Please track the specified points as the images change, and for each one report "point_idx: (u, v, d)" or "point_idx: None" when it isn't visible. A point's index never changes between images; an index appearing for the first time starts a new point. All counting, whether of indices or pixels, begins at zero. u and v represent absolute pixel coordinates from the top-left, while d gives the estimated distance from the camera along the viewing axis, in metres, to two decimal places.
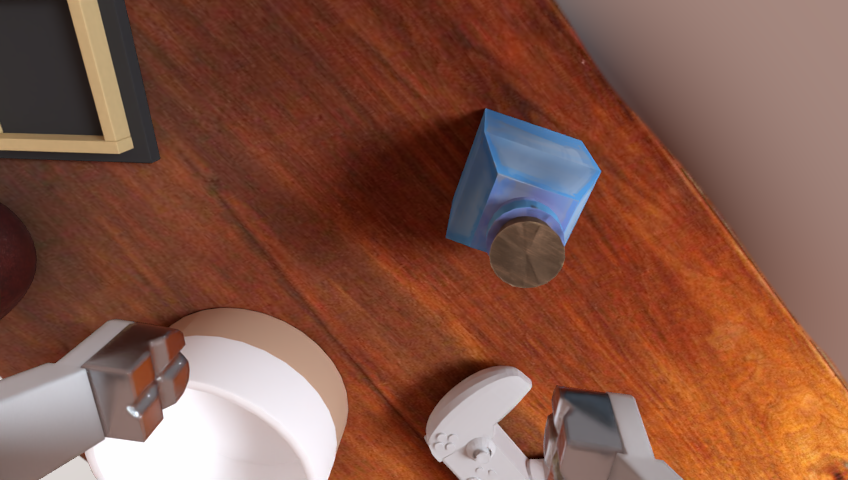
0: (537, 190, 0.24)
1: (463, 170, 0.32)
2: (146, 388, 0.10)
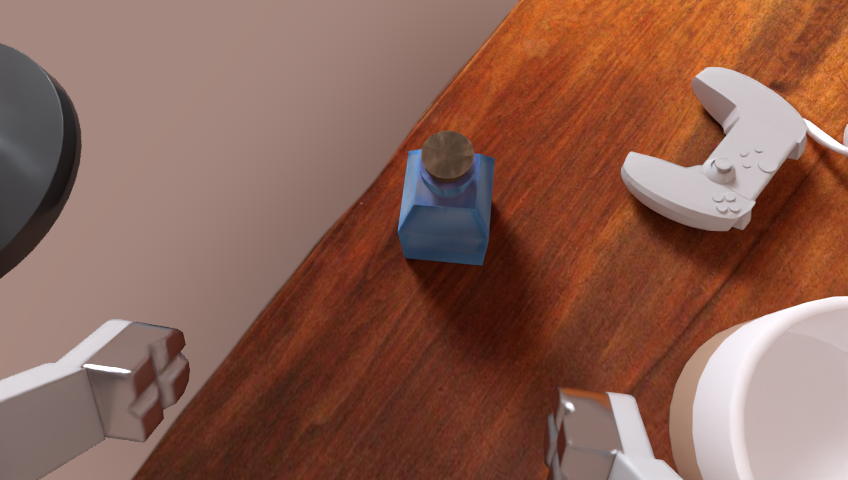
0: (419, 176, 0.33)
1: (455, 261, 0.40)
2: (146, 388, 0.10)
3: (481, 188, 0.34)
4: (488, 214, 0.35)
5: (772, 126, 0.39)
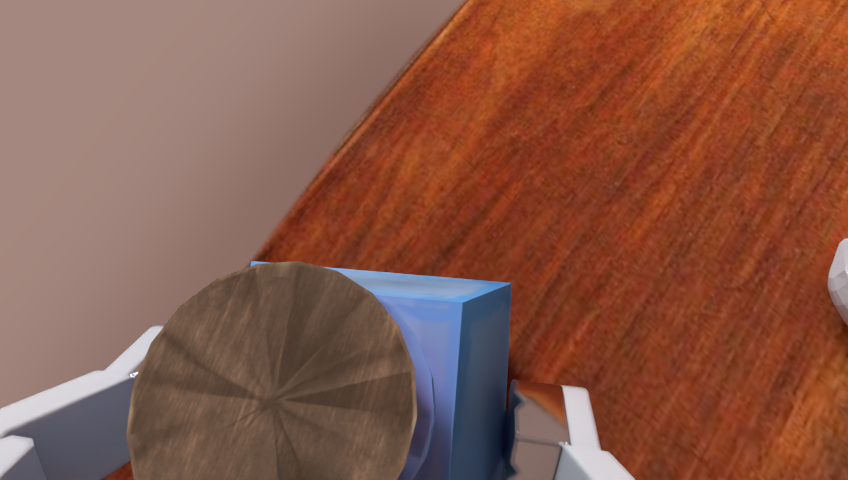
0: None
1: None
2: None
3: (467, 433, 0.09)
4: None
5: None
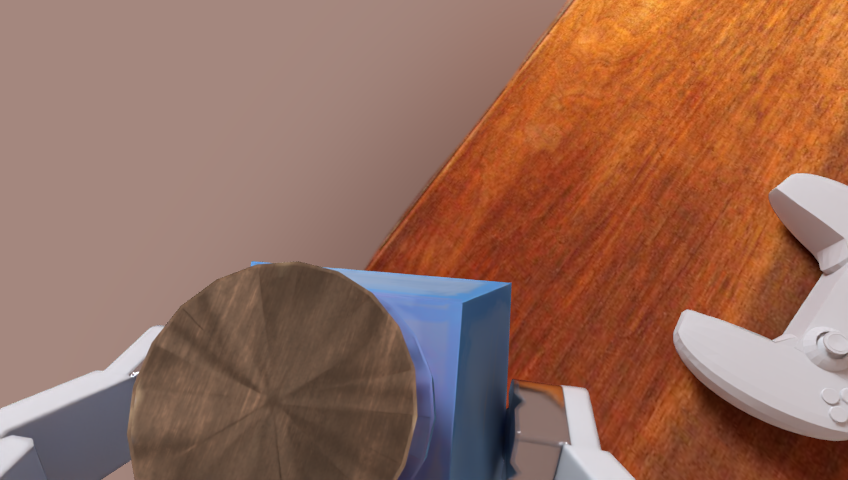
0: None
1: None
2: None
3: (467, 433, 0.09)
4: None
5: None
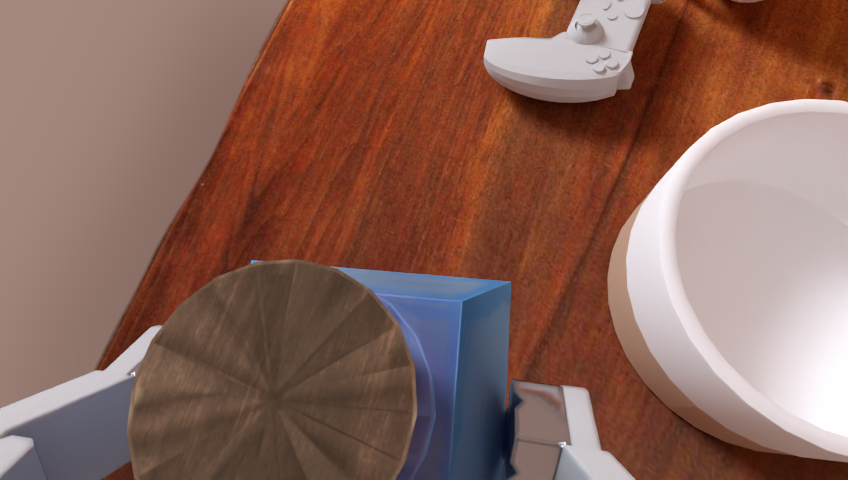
0: None
1: None
2: None
3: (467, 432, 0.09)
4: None
5: None
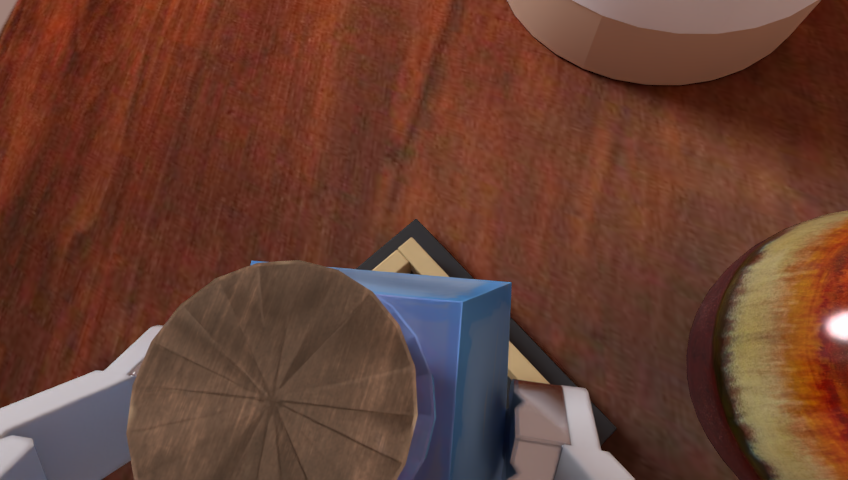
0: None
1: None
2: None
3: (467, 433, 0.09)
4: None
5: None
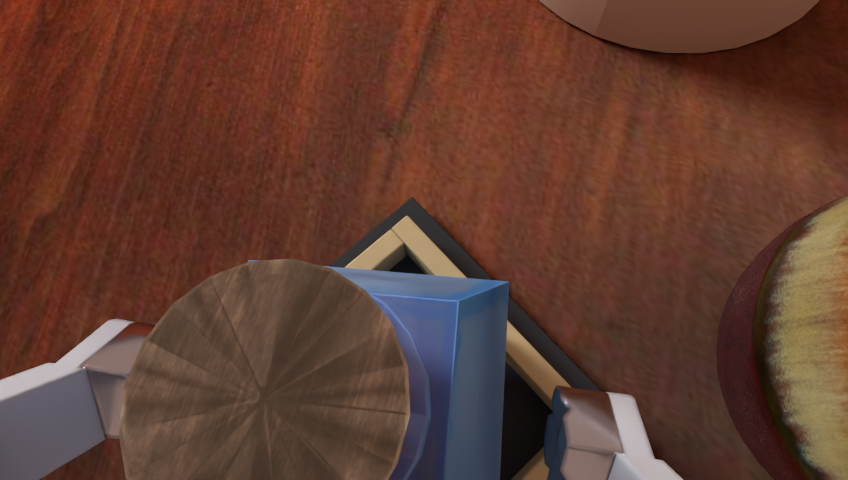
0: None
1: None
2: None
3: (463, 432, 0.09)
4: None
5: None
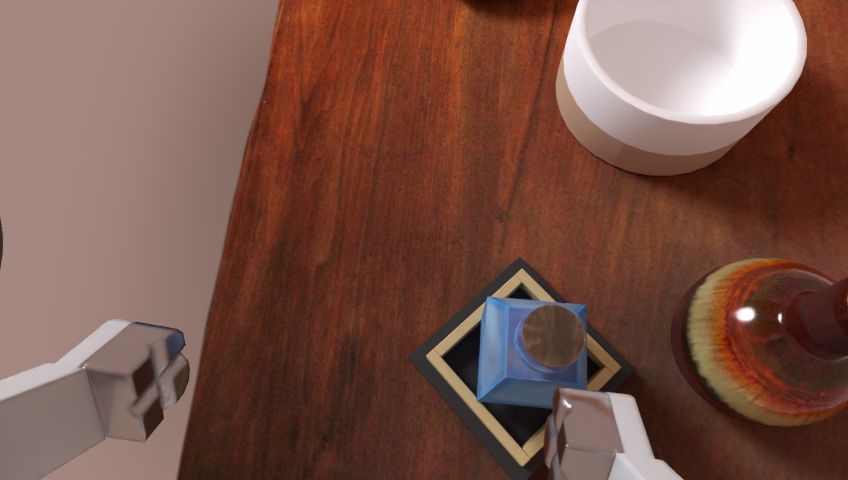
0: (509, 341, 0.29)
1: (534, 406, 0.36)
2: (146, 388, 0.10)
3: None
4: (585, 376, 0.30)
5: None
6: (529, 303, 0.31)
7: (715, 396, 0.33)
